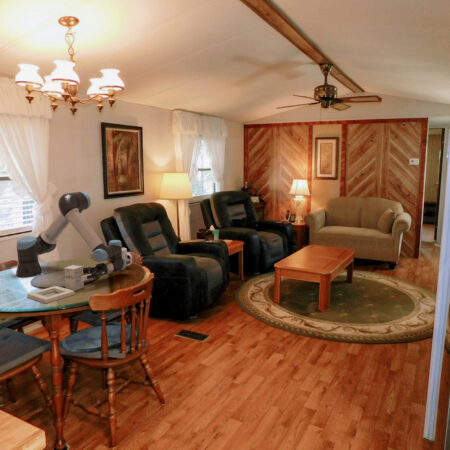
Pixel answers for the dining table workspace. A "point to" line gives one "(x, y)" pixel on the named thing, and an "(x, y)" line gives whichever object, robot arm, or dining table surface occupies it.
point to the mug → (124, 255)
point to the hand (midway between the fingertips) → (73, 276)
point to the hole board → (39, 294)
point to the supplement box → (73, 277)
